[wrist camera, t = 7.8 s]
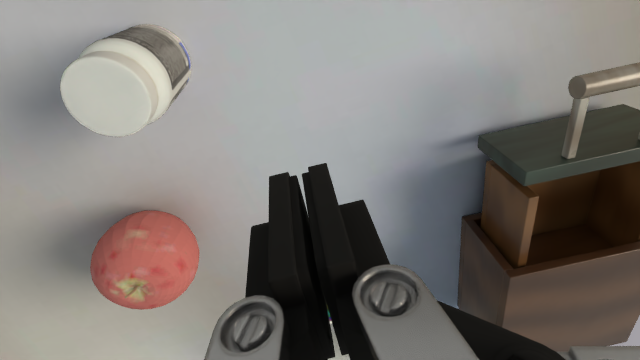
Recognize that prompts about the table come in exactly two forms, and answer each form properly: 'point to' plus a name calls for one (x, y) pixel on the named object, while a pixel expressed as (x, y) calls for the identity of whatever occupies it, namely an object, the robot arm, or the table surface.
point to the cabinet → (551, 292)
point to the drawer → (566, 177)
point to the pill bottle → (126, 80)
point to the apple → (145, 260)
